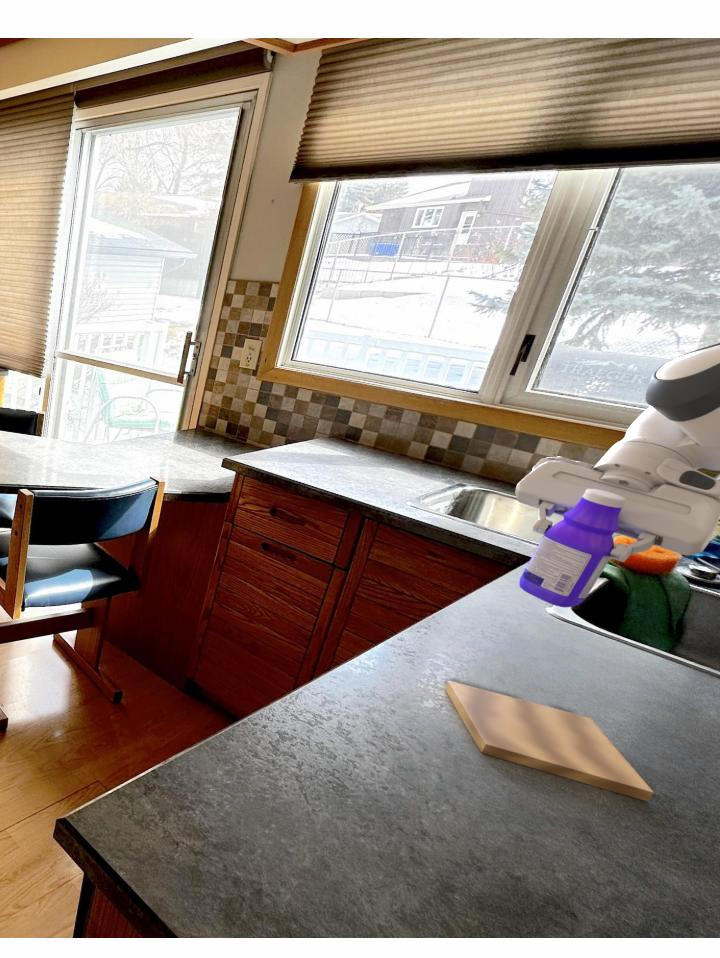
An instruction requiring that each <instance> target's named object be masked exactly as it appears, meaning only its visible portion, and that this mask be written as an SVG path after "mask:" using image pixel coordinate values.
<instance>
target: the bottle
mask: <svg viewBox="0 0 720 958" xmlns="http://www.w3.org/2000/svg"><path fill="white" fill-rule="evenodd" d="M625 502H626V498H624V497H622V496H619V495H617V494H614V493H610V492H607V491H602V490H597V489H587V490H586V492H585V493H584V495H583V496H582V498H581V500H580V501H579V503H578V504H577V505H576V506H575V507H574V508H572V509H571V510H569V511H567V512H565V513H564V514H563V516H562V517H563V519H562V520H560V521H558V522H557V523H555V524H554V525H552V527H551V528H550V529H548V530H547V531H546V533H545V535H542V538H541V539H540V542H539V543H538V546H537V547H536V549H535V550H534V552H533V554H532V556H531V558H530V560H529V561H528V563H527V565H526V567H525V568H524V570H523V572H522V574H521V576H520V578H519V588H520V589H521V590H522V591H524V592H526V593H527V594H529V595H531V596H533V597H534V598H537V599H538V600H540V601H543V602H545V603H547V604H550V605H552V606H555V607H559V608H575V607H577V606H579V605H580V604H582V603H583V602H584V601H585V599H586V598H587V597H588V596H589V594H590V592H591V591H592V589H593V588H594V586H595V585H596V583H597V581H598V579H599V578H600V576H601V575H602V573H603V571H604V570H605V568H606V566H607V564H608V563H609V561H610V560H611V558H610V557H609V556H610V552H611V551H612V549H614V548H615V542H614V538H613V535H614V534H616V533H615V532H617V531H618V530H619V527H618V516H619V513H620V511H621V509H622V507H623V505H624V503H625Z"/></svg>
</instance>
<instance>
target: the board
mask: <svg viewBox="0 0 720 958" xmlns="http://www.w3.org/2000/svg"><path fill="white" fill-rule="evenodd" d="M444 690H445V692H446V694H447V696H448V698H449V699H450V700H451V703H452V704H453V706H454V707H455V709H456V711H457V713H458V715H459V716H460V718H461V720H462V722H463V723H464V726H465V727H466V729H467V730H468V732H469V734H470V736H471V738H472V739H473V741H474V742H475V744H476V746H477V748H478V750H479V751H480V753H481V754H483V755H487V756H491V757H494V758H498V759H500V760H504V761H508V762H511V763H514V764H517V765H521V766H525V767H528V768H532V769H535V770H539V771H541V772H545V773H548V774H552V775H554V776H555V775H556V776H559V777H562V778H566V779H569V780H573V781H575V782H579V783H582V784H586V785H588V786H589V785H590V786H592V787H596V788H600V789H603V790H606V791H608V792H609V791H610V792H613V793H617V794H620V795H622V796H626V797H630V798H633V799H636V800H641V801H644V802H647V803H648V802H649V801H650V799H651V798H652V797H653V795H654V794H655V791H653V790H652V788H651V787H650V786H649V785H648V783H647V782H646V781H645V780H644V779H643V778H642V777H641V775H639V773H638V772H637V771H636V769H634V767H633V766H632V765H631V764H630V763H629V761H628V760H627V759H626V758H625V757H624V755H623V754H621V753H620V751H619V750H618V748H616V746H615V745H614V744H613V743H612V741H610V739H609V738H608V737H607V736H606V735H605V734H604V733H603V731H602V730H601V728H599V727H598V726H597V724H596V723H595V722H594V721H593V720H592V719H591V718H590V717H588V716H584V715H581V714H577V713H574V712H570V711H566V710H562V709H560V708H554V707H551V706H547V705H543V704H539V703H536V702H531V701H528V700H524V699H521V698H516V697H513V696H510V695H505V694H501V693H498V692H493V691H490V690H486V689H483V688H479V687H475V686H472V685H467V684H463V683H459V682H457V681H453V680H447V682H446V684H445V686H444Z"/></svg>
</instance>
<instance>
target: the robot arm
mask: <svg viewBox="0 0 720 958" xmlns="http://www.w3.org/2000/svg"><path fill="white" fill-rule="evenodd" d="M645 402H646V404H647V405H649V406H648V407H647V408H646V409H645V410H644V411H643V412H642V413H641V414H640V415H639V416H638V417H637V418H636V419H635V420H634V421H633V422H632V423H631V424H630V426H629V427H628V428H627V429H626V432H625V434H624V437H623V438H622V439H621V440H620V441H617V442H615V444H613V445H612V446H611V447H610V448H609V449H608V451H606V452H605V454H604V455H603V456H602V457H601V458H600V459H599V461H597V462H596V463H595V464H591V463H587V462H584V461H578V460H574V459H569V458H567V457H564V456H556V457H544V458H543V457H542V458H541V459H539V461H537V463H535V465H534V466H533V467H532V470H531V471H530V472H529V473H527V475H525V476H524V477H523V478H522V479H521V480H520V481H519V482H518V483H517V484H516V487H515V491H514V493H515V498H516V501H517V502H518V503H520V504H523V505H527V506H529V507H532V508H535V509H538V512H537V514H538V515H537V516H538V520H537V521H536V523H535V524H534V525H533V527H532V531H533V533H534V532H535V533H537V534H540V535H542V536H544V535H545V533H546V531H547V530H548V529H550V528H551V527H552V526H553V524H554V521H552V520H549V519H547V518H551V517H552V516H553V515H554V514H555V515H557V516H560V517H564V516H563V514H564V513H565V512H567V511H569V510H571V509H572V508H574V507H575V506H576V505H577V504H578V503H579V501H580V500H581V498H582V496H583V495H584V493H585V492H586V490H587V489H597V490H602V491H607V492H610V493H614V494H617V495H619V496H622V497H624V498H626V502H625V503H624V505H623V507H622V509H621V511H620V513H619V516H618V527H619V530H618V531H617V532H615V533H614V534H617V535H621V536H624V537H627V538H630V539H633V540H636V541H634V542H631V543H629V544H622V543H619V542H617V544H615V545H614V549H612V551H611V552H610V556H609V557H610V559H613V560H616V561H618V562H621V563H625V562H626V561H627V560H628V558H629V557H630V556H631V555H635V554H638V553H643V552H645V551H650V550H651V548H652V547H653V546H656V547H659V548H661V549H665V550H667V551H671V552H674V553H677V554H680V555H684V556H694V555H700V554H701V553H702V552H703V551H704V550H705V549H706V548H707V546H708V545H709V543H710V541H711V539H712V537H713V535H714V533H715V531H716V528H717V526H718V524H719V521H720V480H719V479H717V478H716V477H715V478H714V477H712V476H710V475H708V474H706V473H704V472H701V471H700V469H705V470H706V471H710V472H720V342H718V343H715V344H711V345H708V346H705V347H702V348H699V349H696V350H692V351H689V352H686V353H684V354H682V355H679V356H677V357H675V358H673V359H671V360H669V361H667V362H665V363H663V364H662V365H661V366H659V367H658V368H657V369H656V370H655V371H654V373H653V374H652V376H651V378H650V380H649V382H648V385H647V387H646V392H645Z"/></svg>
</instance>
